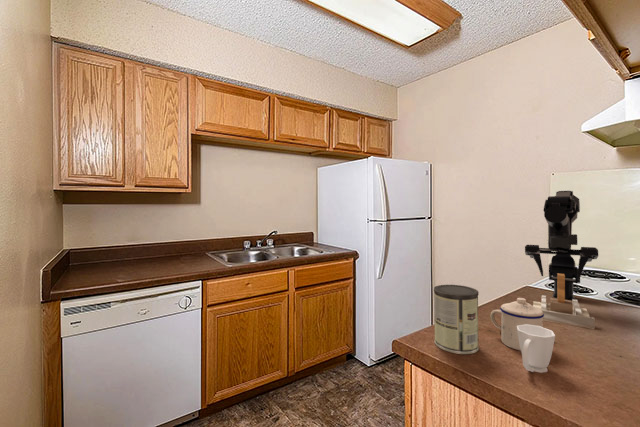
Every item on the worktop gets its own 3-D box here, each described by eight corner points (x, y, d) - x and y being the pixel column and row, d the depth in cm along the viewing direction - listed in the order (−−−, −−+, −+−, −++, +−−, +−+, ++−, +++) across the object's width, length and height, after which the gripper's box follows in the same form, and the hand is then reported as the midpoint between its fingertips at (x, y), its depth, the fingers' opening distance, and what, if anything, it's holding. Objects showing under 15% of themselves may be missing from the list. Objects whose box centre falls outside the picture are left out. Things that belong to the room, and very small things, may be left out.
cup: (559, 368, 65) (560, 331, 64) (545, 385, 58) (545, 344, 58) (522, 356, 70) (522, 321, 70) (505, 370, 64) (505, 333, 64)
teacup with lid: (550, 346, 75) (550, 299, 74) (534, 357, 70) (534, 306, 69) (499, 330, 85) (499, 289, 84) (482, 338, 80) (482, 294, 79)
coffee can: (442, 333, 83) (442, 282, 83) (483, 344, 76) (483, 288, 76) (427, 345, 76) (426, 289, 76) (471, 359, 69) (471, 297, 69)
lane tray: (533, 305, 106) (533, 294, 106) (586, 313, 97) (586, 301, 97) (531, 323, 90) (531, 309, 90) (594, 334, 81) (595, 319, 81)
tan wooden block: (550, 314, 93) (550, 272, 93) (571, 317, 90) (571, 274, 90) (550, 318, 89) (550, 275, 89) (572, 322, 86) (572, 277, 86)
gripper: (524, 224, 102) (523, 270, 98) (599, 225, 90) (602, 277, 86) (526, 233, 110) (525, 275, 106) (594, 234, 99) (597, 282, 95)
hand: (559, 277), depth 98 cm, fingers open, 9 cm apart
